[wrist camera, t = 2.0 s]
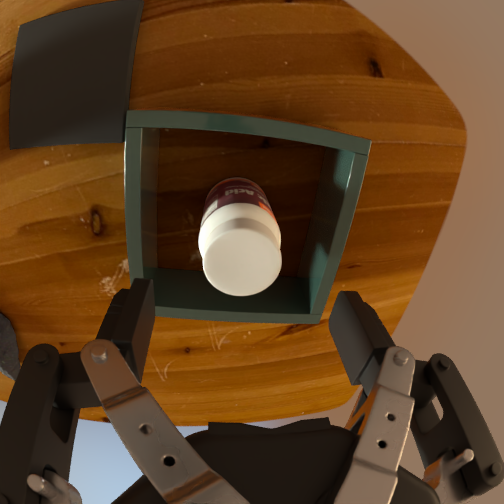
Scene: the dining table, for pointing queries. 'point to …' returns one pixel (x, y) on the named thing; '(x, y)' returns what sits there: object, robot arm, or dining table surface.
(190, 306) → the box frame
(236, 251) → the pill bottle
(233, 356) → the dining table surface
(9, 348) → the dark slate chunk
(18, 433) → the robot arm
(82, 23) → the mat
